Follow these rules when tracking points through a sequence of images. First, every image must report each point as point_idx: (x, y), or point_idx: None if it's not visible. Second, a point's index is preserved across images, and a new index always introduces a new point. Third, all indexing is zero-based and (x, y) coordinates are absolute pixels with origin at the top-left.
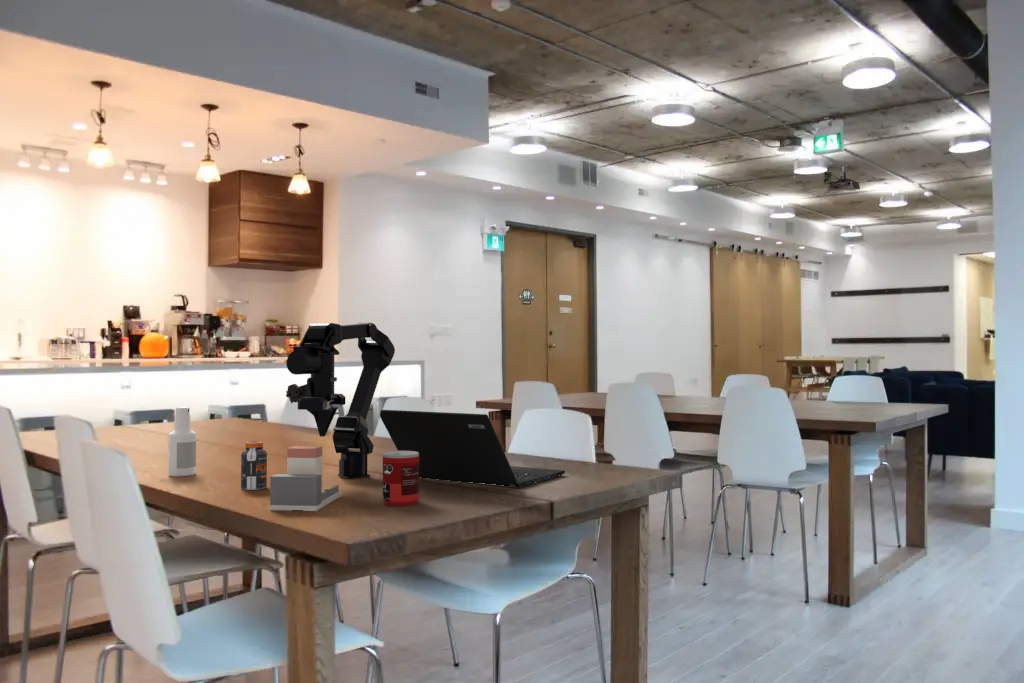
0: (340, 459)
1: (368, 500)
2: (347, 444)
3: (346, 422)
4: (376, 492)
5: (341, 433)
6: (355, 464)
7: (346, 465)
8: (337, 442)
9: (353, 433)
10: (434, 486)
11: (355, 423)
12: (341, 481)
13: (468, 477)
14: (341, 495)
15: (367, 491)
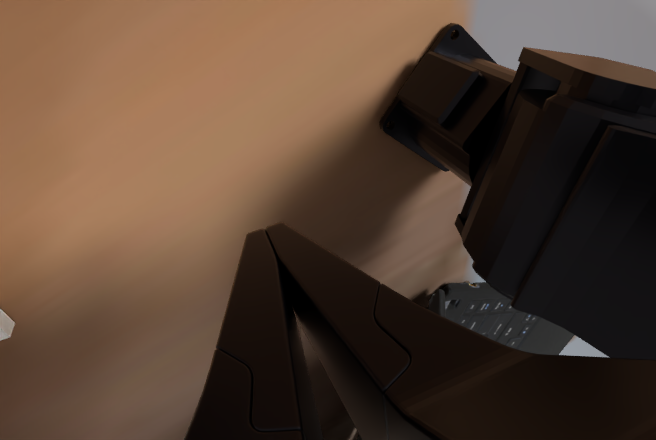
0: (470, 83)
1: (12, 423)
2: (477, 198)
3: (648, 264)
4: (160, 357)
5: (551, 194)
6: (440, 159)
7: (427, 123)
8: (511, 128)
9: (510, 286)
10: (317, 392)
11: (590, 331)
12: (325, 120)
13: (361, 438)
14: (13, 324)
15: (161, 328)
